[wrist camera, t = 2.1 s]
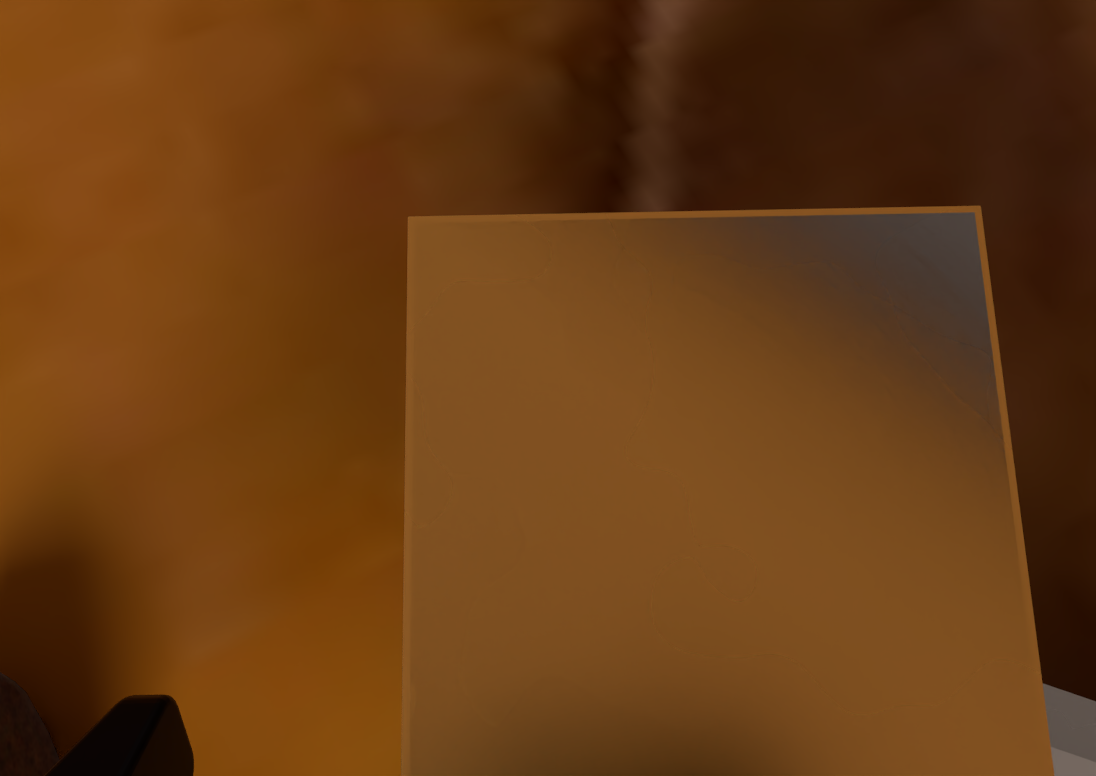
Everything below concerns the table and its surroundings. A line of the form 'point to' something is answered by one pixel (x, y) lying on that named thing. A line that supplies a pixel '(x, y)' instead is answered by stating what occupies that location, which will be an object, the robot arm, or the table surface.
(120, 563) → the table surface
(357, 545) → the table surface
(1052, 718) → the grey socket base
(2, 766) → the bolt
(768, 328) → the grey square peg
